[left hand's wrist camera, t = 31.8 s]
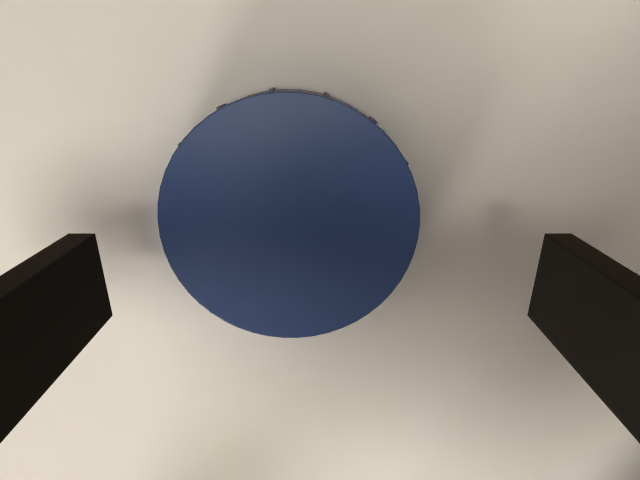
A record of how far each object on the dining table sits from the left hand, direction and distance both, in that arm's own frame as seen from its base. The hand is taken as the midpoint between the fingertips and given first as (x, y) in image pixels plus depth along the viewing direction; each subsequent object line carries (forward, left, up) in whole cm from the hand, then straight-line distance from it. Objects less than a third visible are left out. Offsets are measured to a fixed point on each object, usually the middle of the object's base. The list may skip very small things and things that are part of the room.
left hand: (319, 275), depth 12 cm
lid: (+1, 0, -3) cm, 3 cm away
